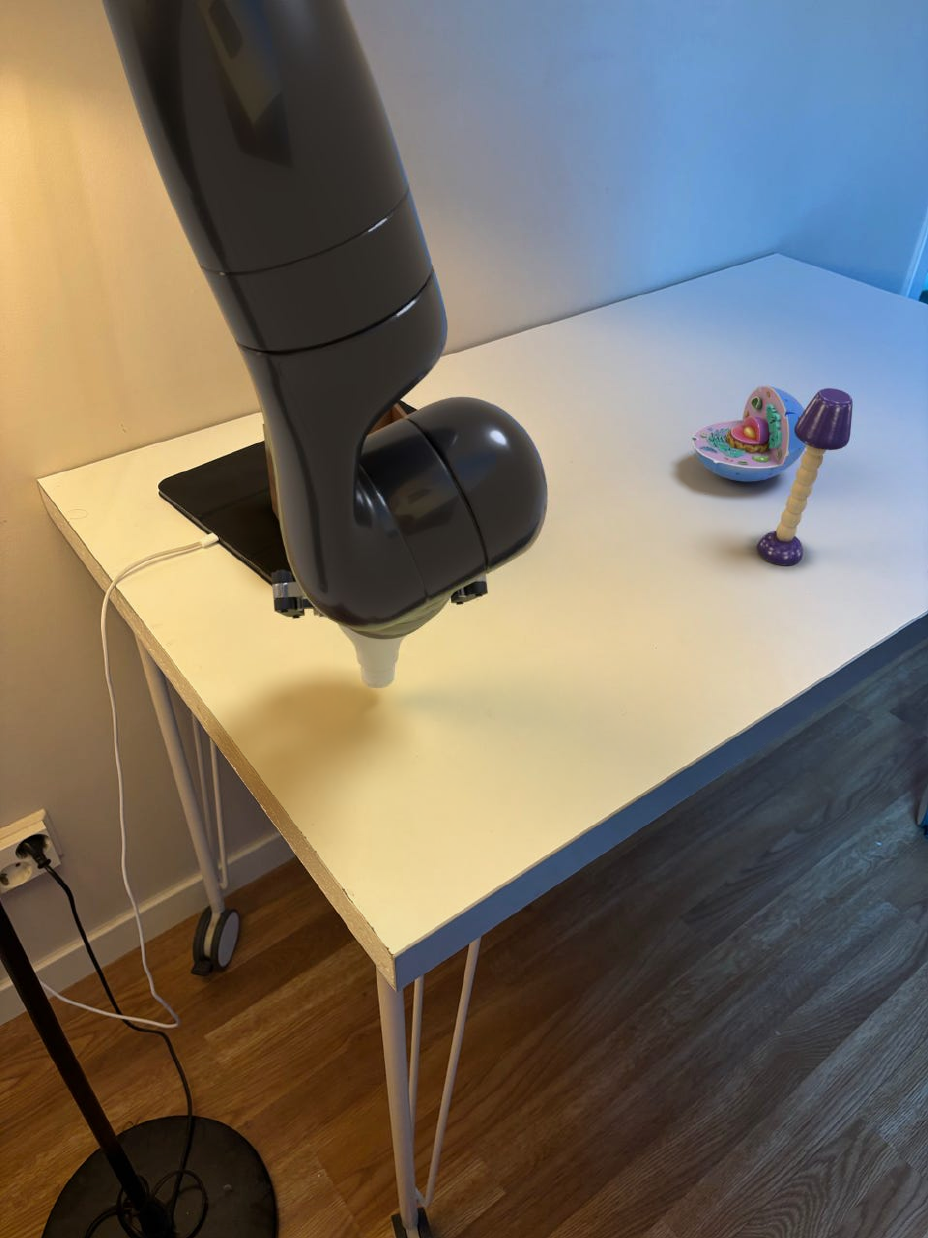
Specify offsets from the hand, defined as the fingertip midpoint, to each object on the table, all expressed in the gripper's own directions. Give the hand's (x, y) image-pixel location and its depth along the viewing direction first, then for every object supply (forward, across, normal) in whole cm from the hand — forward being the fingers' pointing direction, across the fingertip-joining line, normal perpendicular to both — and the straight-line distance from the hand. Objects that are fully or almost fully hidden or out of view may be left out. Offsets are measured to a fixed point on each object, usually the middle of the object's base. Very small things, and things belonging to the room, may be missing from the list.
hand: (373, 599), depth 70 cm
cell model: (+24, -41, -12) cm, 50 cm away
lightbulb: (+4, 0, +6) cm, 8 cm away
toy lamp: (+15, -40, -2) cm, 43 cm away
